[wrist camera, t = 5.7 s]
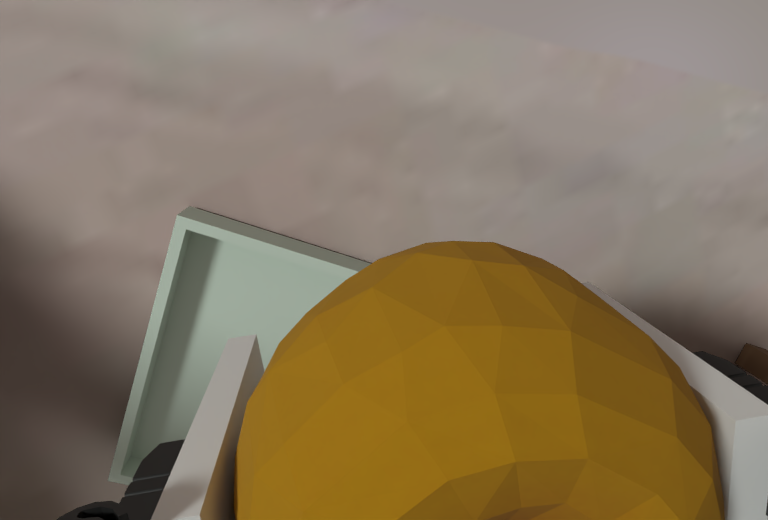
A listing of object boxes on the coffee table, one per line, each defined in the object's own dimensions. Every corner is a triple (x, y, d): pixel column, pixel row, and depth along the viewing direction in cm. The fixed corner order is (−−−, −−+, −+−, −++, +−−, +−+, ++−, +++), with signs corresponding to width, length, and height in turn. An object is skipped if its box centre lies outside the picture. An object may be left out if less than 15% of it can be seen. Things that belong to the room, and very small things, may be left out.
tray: (123, 454, 34) (107, 480, 31) (189, 206, 30) (177, 214, 27) (463, 531, 38) (472, 559, 36) (561, 324, 34) (579, 340, 31)
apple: (280, 487, 16) (223, 923, 7) (249, 211, 13) (113, 392, 5) (552, 460, 17) (783, 828, 8) (570, 194, 14) (929, 327, 6)
